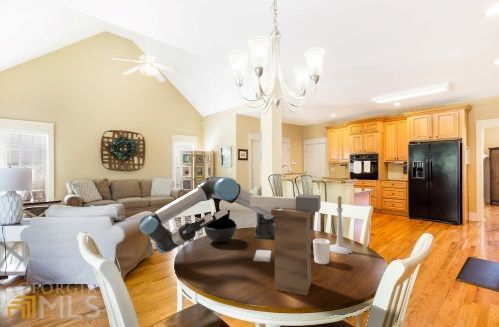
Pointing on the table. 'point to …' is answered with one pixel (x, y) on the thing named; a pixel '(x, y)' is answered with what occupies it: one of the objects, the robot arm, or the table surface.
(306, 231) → the tall stand
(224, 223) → the bowl of black rocks
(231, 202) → the robot arm
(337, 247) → the candlestick
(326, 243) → the white cup
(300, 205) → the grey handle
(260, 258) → the smartphone
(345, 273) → the table surface
